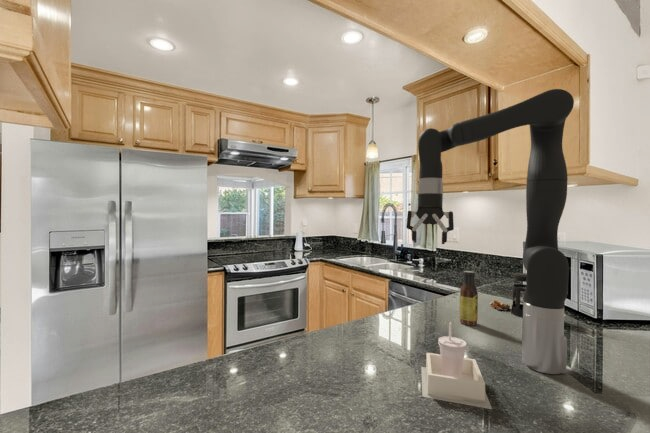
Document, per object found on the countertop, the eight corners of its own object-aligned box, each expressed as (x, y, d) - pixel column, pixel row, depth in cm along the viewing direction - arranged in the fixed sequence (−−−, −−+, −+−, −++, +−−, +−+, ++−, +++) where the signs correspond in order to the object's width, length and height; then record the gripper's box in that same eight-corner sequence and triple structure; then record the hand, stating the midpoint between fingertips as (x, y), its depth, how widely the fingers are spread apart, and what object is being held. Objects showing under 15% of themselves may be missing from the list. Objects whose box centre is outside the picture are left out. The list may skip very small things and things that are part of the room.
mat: (478, 377, 78) (478, 375, 78) (492, 411, 64) (492, 409, 64) (421, 368, 82) (421, 366, 82) (422, 399, 68) (422, 396, 68)
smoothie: (442, 371, 78) (443, 316, 77) (469, 381, 73) (470, 323, 73) (433, 382, 73) (434, 323, 72) (461, 392, 69) (463, 330, 68)
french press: (504, 312, 132) (506, 259, 132) (518, 309, 136) (519, 258, 136) (533, 321, 121) (534, 263, 121) (546, 318, 125) (548, 262, 125)
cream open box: (474, 377, 77) (475, 359, 77) (484, 404, 66) (485, 383, 66) (426, 369, 80) (426, 352, 80) (427, 394, 69) (428, 374, 69)
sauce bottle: (479, 327, 113) (481, 273, 113) (461, 325, 115) (462, 272, 114) (474, 321, 120) (475, 270, 120) (457, 319, 121) (458, 269, 121)
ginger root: (497, 304, 145) (498, 296, 145) (515, 312, 133) (515, 304, 133) (483, 304, 145) (484, 296, 145) (499, 312, 133) (500, 304, 133)
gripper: (407, 192, 97) (405, 243, 97) (455, 192, 93) (454, 245, 93) (407, 193, 104) (406, 241, 104) (452, 193, 100) (451, 243, 100)
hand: (429, 243), depth 98 cm, fingers open, 8 cm apart
